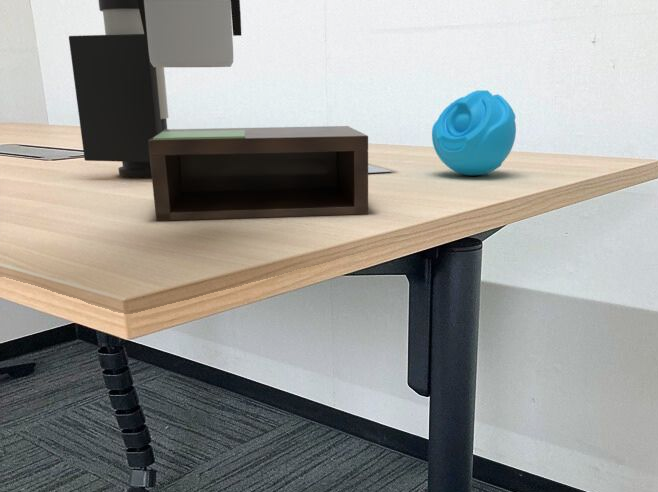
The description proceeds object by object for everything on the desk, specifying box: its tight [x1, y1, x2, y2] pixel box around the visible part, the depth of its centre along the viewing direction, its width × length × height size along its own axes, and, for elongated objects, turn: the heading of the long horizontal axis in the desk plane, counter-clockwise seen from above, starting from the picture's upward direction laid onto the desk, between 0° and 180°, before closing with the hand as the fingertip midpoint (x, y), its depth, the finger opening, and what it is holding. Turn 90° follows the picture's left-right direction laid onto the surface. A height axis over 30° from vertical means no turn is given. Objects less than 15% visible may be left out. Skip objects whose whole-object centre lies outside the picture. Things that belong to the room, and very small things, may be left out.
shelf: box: [148, 125, 369, 222], centre depth 84 cm, size 22×16×8 cm
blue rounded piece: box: [431, 89, 517, 177], centre depth 106 cm, size 12×11×12 cm
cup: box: [144, 0, 234, 68], centre depth 65 cm, size 7×10×9 cm
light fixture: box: [68, 0, 169, 179], centre depth 107 cm, size 12×11×25 cm
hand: (193, 24), depth 68 cm, fingers closed on cup, 7 cm apart
